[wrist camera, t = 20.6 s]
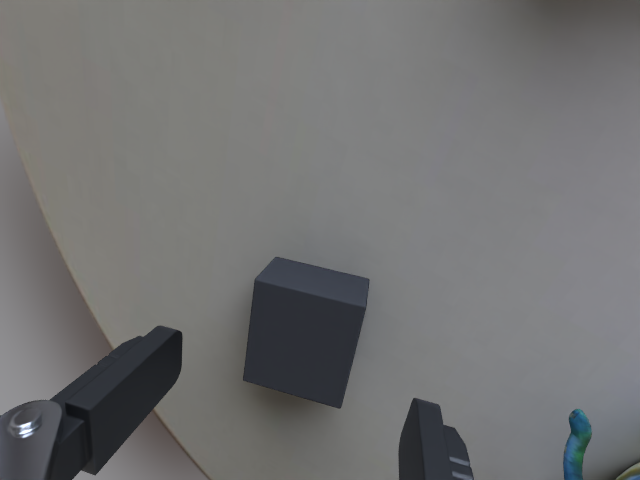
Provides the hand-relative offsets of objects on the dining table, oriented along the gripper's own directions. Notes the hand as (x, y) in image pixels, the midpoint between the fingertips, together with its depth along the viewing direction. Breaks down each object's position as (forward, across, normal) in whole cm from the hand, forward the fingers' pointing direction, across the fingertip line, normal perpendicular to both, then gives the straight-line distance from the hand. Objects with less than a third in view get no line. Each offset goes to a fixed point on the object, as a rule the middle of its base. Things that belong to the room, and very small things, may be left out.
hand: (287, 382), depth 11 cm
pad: (+5, 0, 0) cm, 5 cm away
